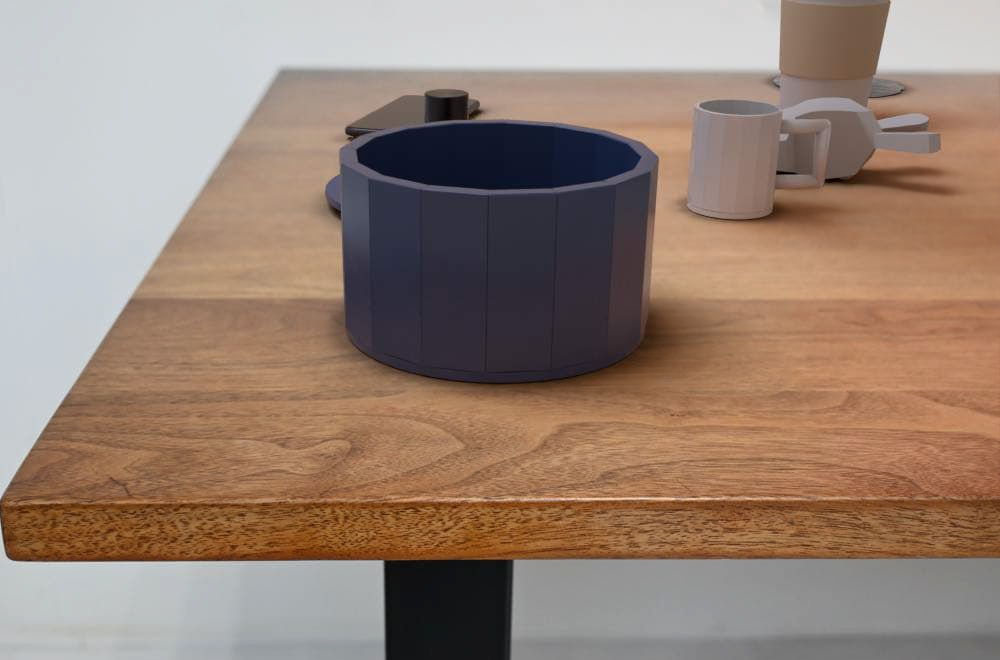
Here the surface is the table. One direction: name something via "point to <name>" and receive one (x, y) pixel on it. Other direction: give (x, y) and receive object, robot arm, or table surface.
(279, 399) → the table surface
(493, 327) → the pot
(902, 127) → the bunny figurine
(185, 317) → the table surface
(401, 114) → the smartphone
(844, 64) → the coffee cup
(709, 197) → the mug
